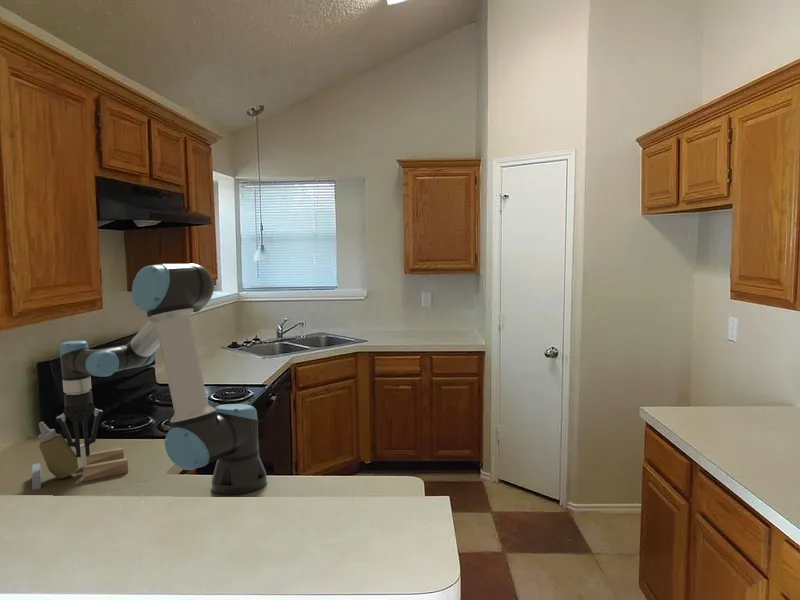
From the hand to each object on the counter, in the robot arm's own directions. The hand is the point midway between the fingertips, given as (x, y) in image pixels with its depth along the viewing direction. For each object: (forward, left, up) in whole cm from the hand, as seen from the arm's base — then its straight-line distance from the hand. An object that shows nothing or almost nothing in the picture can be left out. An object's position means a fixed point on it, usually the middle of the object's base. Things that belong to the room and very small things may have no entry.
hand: (84, 466), depth 180 cm
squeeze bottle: (0, +4, -1) cm, 5 cm away
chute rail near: (-7, -6, -2) cm, 9 cm away
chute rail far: (+5, -6, -2) cm, 8 cm away
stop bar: (-1, +12, -2) cm, 13 cm away
